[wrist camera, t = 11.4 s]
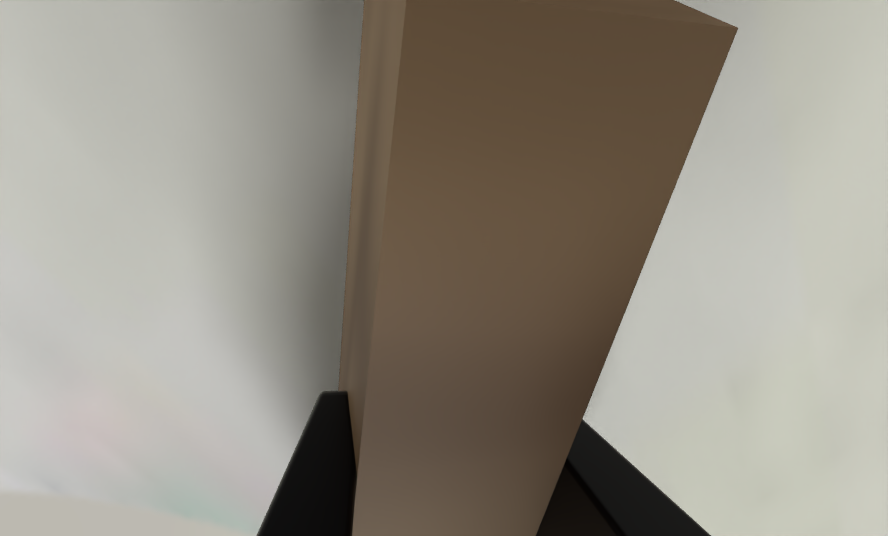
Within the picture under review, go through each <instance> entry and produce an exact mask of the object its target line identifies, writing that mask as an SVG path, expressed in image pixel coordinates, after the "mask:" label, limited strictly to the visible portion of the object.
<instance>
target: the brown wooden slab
mask: <svg viewBox="0 0 888 536" xmlns="http://www.w3.org/2000/svg"><path fill="white" fill-rule="evenodd" d="M737 30H738V28H737V27H735V26H732V25H730V24H728V23H725V22H723V21H721V20H718V19H716V18H714V17H711V16H709V15H707V14H705V13H702V12H700V11H698V10H695V9H693V8H691V7H688V6H686V5H684V4H682V3H679V2H677V1H675V0H364V9H363V25H362V40H361V55H360V70H359V85H358V100H357V115H356V130H355V145H354V160H353V175H352V191H351V206H350V221H349V236H348V251H347V266H346V281H345V296H344V311H343V326H342V342H341V357H340V372H339V387H338V391H347V393H348V401H349V410H350V418H351V427H352V435H353V444H354V453H355V463H356V474H357V479H356V492H355V506H354V520H353V533H352V536H536V534H537V531H538V529H539V526H540V524H541V521H542V519H543V516H544V514H545V511H546V509H547V506H548V504H549V501H550V499H551V496H552V494H553V491H554V489H555V486H556V484H557V481H558V479H559V476H560V474H561V471H562V468H563V466H564V463H565V461H566V458H567V456H568V453H569V451H570V448H571V446H572V443H573V441H574V438H575V436H576V433H577V431H578V428H579V426H580V423H581V421H582V418H583V416H584V413H585V411H586V408H587V406H588V403H589V401H590V398H591V396H592V393H593V391H594V388H595V386H596V383H597V381H598V378H599V376H600V373H601V371H602V368H603V366H604V363H605V361H606V358H607V356H608V353H609V351H610V348H611V346H612V343H613V341H614V338H615V336H616V333H617V331H618V328H619V326H620V323H621V321H622V318H623V316H624V313H625V311H626V308H627V306H628V303H629V301H630V298H631V295H632V293H633V290H634V288H635V285H636V283H637V280H638V278H639V275H640V273H641V270H642V268H643V265H644V263H645V260H646V258H647V255H648V253H649V250H650V248H651V245H652V243H653V240H654V238H655V235H656V233H657V230H658V228H659V225H660V223H661V220H662V218H663V215H664V213H665V210H666V208H667V205H668V203H669V200H670V198H671V195H672V193H673V190H674V188H675V185H676V183H677V180H678V178H679V175H680V173H681V170H682V168H683V165H684V163H685V160H686V158H687V155H688V153H689V150H690V148H691V145H692V143H693V140H694V138H695V135H696V133H697V130H698V128H699V125H700V123H701V120H702V117H703V115H704V112H705V110H706V107H707V105H708V102H709V100H710V97H711V95H712V92H713V90H714V87H715V85H716V82H717V80H718V77H719V75H720V72H721V70H722V67H723V65H724V62H725V60H726V57H727V55H728V52H729V50H730V47H731V45H732V42H733V40H734V37H735V35H736V32H737Z"/></svg>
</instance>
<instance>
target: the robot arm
mask: <svg viewBox="0 0 888 536" xmlns="http://www.w3.org/2000/svg"><path fill="white" fill-rule="evenodd" d="M356 479H357V474H356V463H355V453H354V444H353V435H352V427H351V418H350V410H349V401H348V393H347V391H324V392H322V393H321V394H320V395H319V397H318V399H317V401H316V403H315V406H314V408H313V410H312V412H311V415H310V417H309V419H308V421H307V424H306V426H305V428H304V430H303V433H302V435H301V437H300V439H299V442H298V444H297V446H296V448H295V451H294V453H293V455H292V457H291V460H290V462H289V464H288V466H287V469H286V471H285V473H284V475H283V478H282V480H281V482H280V484H279V486H278V489H277V491H276V493H275V495H274V498H273V500H272V502H271V504H270V507H269V509H268V511H267V513H266V516H265V518H264V520H263V522H262V525H261V527H260V529H259V531H258V534H257V536H352V533H353V520H354V506H355V492H356ZM536 536H711V535H710V534H709V533H707V532H706V531H705V530H704V529H703V528H702V527H701V526H700V525H699V524H698V523H696V522H695V521H694V520H693V519H692V518H691V517H690V516H689V515H688V514H686V513H685V512H684V511H683V510H682V509H681V508H680V507H679V506H678V505H677V504H675V503H674V502H673V501H672V500H671V499H670V498H669V497H668V496H667V495H665V494H664V493H663V492H662V491H661V490H660V489H659V488H658V487H657V486H656V485H654V484H653V483H652V482H651V481H650V480H649V479H648V478H647V477H646V476H644V475H643V474H642V473H641V472H640V471H639V470H638V469H637V468H636V467H634V466H633V465H632V464H631V463H630V462H629V461H628V460H627V459H626V458H625V457H623V456H622V455H621V454H620V453H619V452H618V451H617V450H616V449H615V448H613V447H612V446H611V445H610V444H609V443H608V442H607V441H606V440H605V439H604V438H602V437H601V436H600V435H599V434H598V433H597V432H596V431H595V430H594V429H592V428H591V427H590V426H589V425H588V424H587V423H586V422H585V421H584V420H583V419H582V421H581V423H580V426H579V428H578V431H577V433H576V436H575V438H574V441H573V443H572V446H571V448H570V451H569V453H568V456H567V458H566V461H565V463H564V466H563V468H562V471H561V474H560V476H559V479H558V481H557V484H556V486H555V489H554V491H553V494H552V496H551V499H550V501H549V504H548V506H547V509H546V511H545V514H544V516H543V519H542V521H541V524H540V526H539V529H538V531H537V534H536Z"/></svg>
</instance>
